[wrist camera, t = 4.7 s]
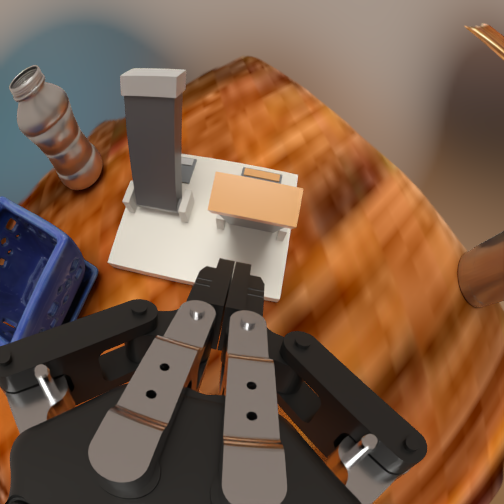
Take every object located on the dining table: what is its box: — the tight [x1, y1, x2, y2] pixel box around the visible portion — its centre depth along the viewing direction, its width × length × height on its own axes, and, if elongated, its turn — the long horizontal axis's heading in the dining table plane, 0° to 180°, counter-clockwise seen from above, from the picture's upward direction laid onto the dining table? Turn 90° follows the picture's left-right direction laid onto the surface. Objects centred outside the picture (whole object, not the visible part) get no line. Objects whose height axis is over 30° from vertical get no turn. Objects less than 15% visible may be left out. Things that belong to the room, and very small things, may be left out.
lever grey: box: [120, 68, 186, 214], centre depth 27 cm, size 2×5×16 cm, turn 80°
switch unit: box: [108, 154, 298, 302], centre depth 34 cm, size 16×20×5 cm
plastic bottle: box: [9, 65, 103, 190], centre depth 28 cm, size 6×7×20 cm
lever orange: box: [208, 172, 303, 233], centre depth 26 cm, size 2×5×16 cm, turn 79°
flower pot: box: [0, 196, 98, 346], centre depth 26 cm, size 13×13×12 cm
